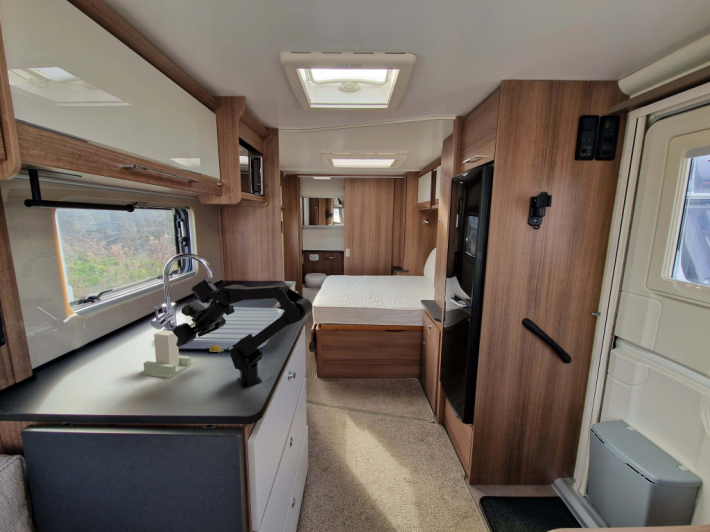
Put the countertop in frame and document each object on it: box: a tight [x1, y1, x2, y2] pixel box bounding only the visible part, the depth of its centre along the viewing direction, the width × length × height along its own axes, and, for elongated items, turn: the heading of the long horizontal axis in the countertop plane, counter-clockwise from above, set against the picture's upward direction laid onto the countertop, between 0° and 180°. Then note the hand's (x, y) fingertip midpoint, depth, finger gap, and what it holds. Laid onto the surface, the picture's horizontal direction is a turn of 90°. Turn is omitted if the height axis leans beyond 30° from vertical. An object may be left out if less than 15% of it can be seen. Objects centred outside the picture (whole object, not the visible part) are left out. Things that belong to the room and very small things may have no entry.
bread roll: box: [208, 345, 225, 353], centre depth 120 cm, size 8×9×4 cm
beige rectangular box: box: [153, 329, 180, 368], centre depth 101 cm, size 6×4×13 cm, turn 77°
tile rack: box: [140, 354, 195, 380], centre depth 101 cm, size 12×11×4 cm
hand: (188, 340), depth 98 cm, fingers open, 9 cm apart
